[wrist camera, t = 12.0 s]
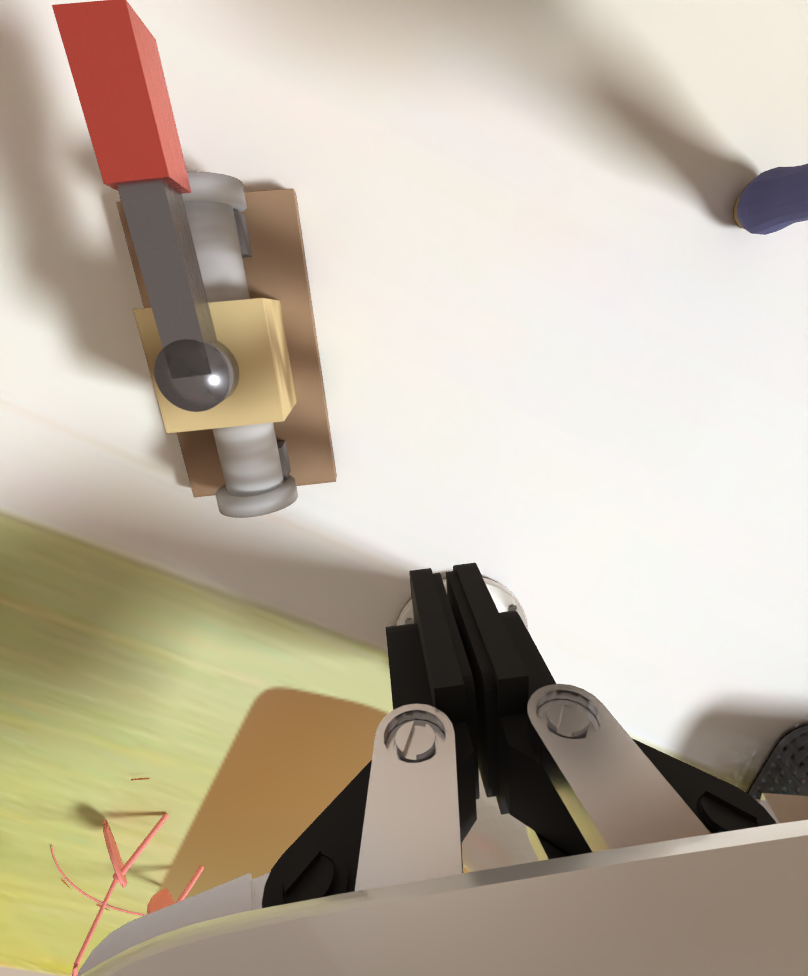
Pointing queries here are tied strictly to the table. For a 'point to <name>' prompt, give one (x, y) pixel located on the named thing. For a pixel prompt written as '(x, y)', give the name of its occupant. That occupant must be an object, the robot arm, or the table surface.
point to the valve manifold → (250, 351)
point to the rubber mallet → (773, 200)
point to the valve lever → (148, 190)
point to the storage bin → (785, 767)
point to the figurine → (157, 900)
